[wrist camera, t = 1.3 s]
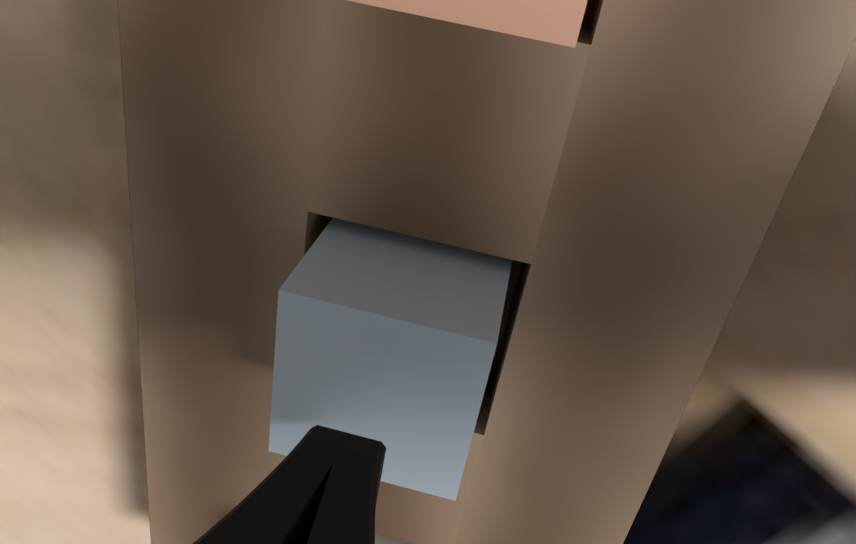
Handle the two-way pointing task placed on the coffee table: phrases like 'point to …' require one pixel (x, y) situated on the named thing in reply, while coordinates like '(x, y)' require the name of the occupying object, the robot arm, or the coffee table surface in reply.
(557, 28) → the pink cube
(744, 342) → the coffee table surface
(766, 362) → the coffee table surface
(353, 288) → the slate key
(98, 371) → the coffee table surface
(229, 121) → the board
